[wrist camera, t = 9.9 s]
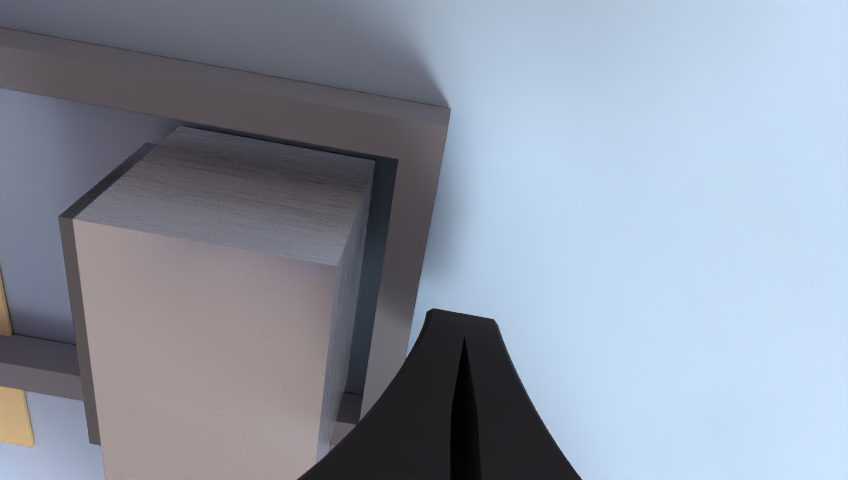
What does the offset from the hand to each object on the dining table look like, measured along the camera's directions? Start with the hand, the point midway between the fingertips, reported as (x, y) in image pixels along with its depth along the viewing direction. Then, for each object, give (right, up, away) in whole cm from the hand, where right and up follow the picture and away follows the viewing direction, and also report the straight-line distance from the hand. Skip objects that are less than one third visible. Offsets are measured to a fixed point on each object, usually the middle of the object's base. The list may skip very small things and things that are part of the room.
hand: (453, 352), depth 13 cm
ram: (-4, +2, +2) cm, 5 cm away
